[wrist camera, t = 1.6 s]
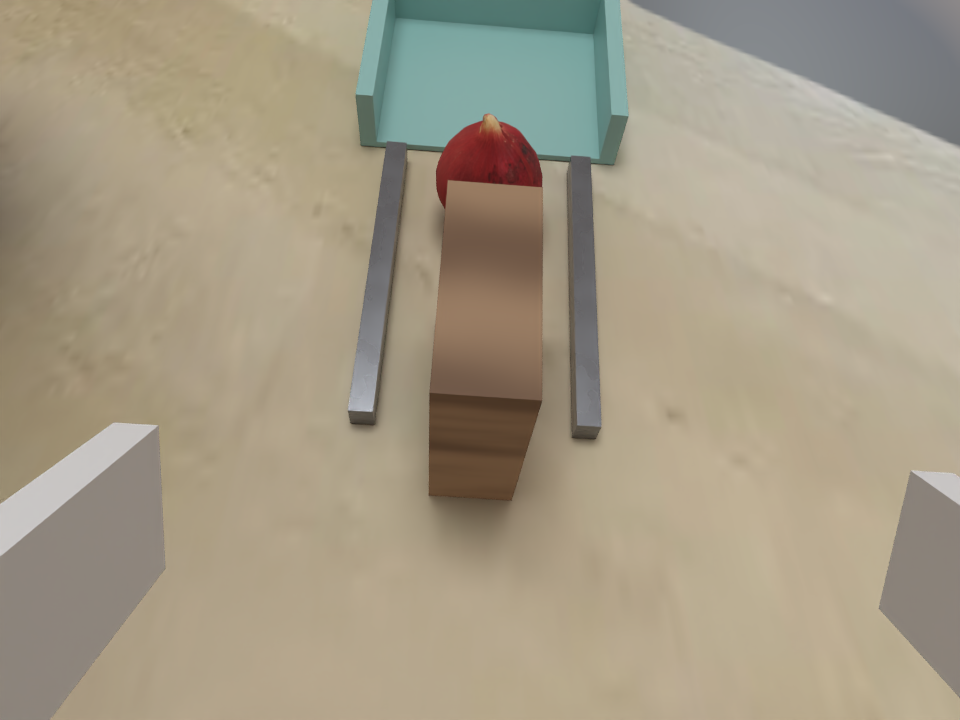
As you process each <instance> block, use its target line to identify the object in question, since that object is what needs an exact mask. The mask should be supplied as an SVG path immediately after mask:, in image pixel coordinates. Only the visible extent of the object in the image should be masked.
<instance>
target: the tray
mask: <svg viewBox="0 0 960 720" xmlns="http://www.w3.org/2000/svg"><path fill="white" fill-rule="evenodd" d="M356 103H357V113H358V122H359V132H360V141H361V145H363V146H376V147H386V144H387V141H392V142H405V143H407V149H415V150H428V151H441V152H443V151H444V149H445V147H446V145H447V144H448V142H449V141H450V140H451V139H452V138H453V137H454V136H455V135H456V134H457V133H459V132H460V131H461V130H462V129H463V128H465V127H466V126H468V125H471V124H474V123H476V122H479V121H483V116H484V115H485V114H488V113H490V114H491V115H494V116H495V117H496V118H497V120H498V121H500V122H504V123H507V124H509V125H511V126H513V127H515V128H517V129H518V130H519V131H520V132H521V133H522V134H523V136H524V137H525V138H526V140H527V141H528V142H529V144H530V145H531V147H532V148H533V149H534V150H535V152H536V154H537V157H538V159H545V160H558V161H570V157H571V155H573V156H586V157H591V163H597V164H609V165H614V162H615V159H616V156H617V152H618V149H619V146H620V142H621V139H622V136H623V133H624V129H625V126H626V123H627V119H628V116H629V115H628V102H627V89H626V76H625V64H624V51H623V38H622V25H621V12H620V0H373V1H372V6H371V12H370V17H369V23H368V28H367V34H366V39H365V45H364V50H363V56H362V62H361V67H360V73H359V78H358V84H357V89H356Z"/></svg>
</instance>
